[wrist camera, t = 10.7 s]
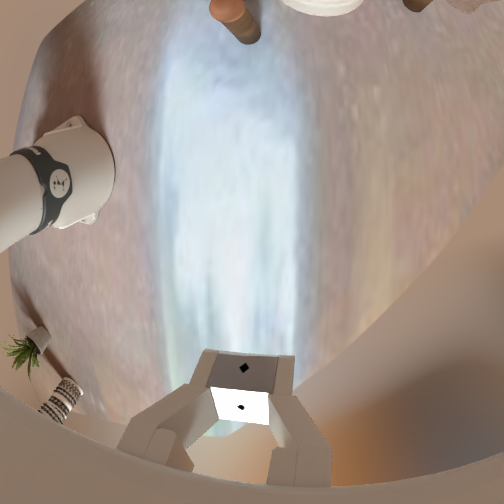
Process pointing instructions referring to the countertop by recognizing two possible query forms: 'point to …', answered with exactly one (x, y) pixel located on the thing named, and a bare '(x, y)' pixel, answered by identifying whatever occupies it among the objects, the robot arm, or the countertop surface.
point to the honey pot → (324, 6)
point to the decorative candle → (62, 400)
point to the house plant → (30, 347)
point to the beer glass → (468, 4)
